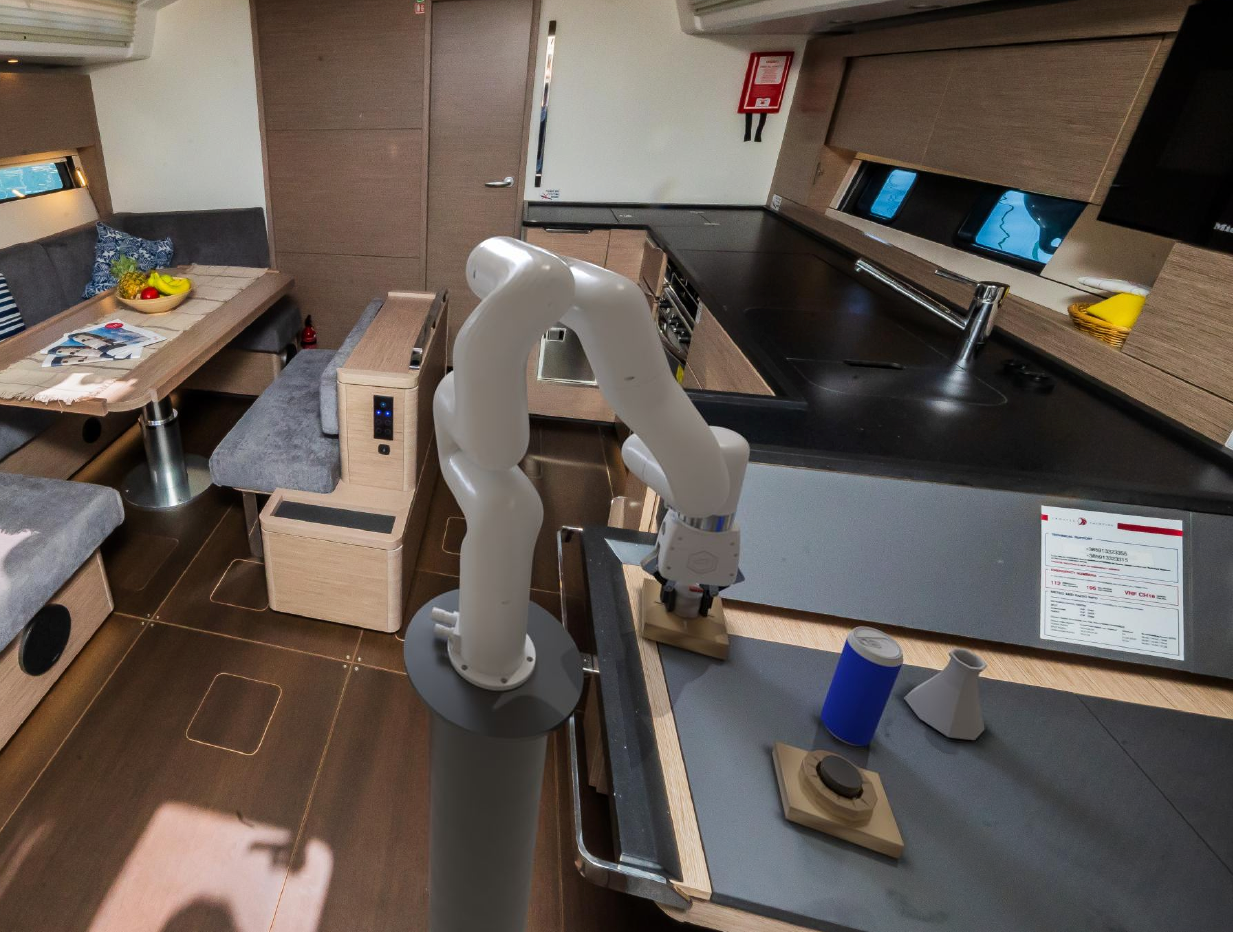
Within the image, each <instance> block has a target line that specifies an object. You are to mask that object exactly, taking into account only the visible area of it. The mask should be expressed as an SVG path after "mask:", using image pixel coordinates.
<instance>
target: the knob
mask: <svg viewBox="0 0 1233 932" xmlns="http://www.w3.org/2000/svg"><path fill="white" fill-rule="evenodd" d="M674 589H675V592H676V597H675V602H674V607H673V612H674V613H675V614H677V615H678V616H680V617H683V618H687V619H693V618H696V617H697V616H698V614H699V610H700V605H701V601H702V596H703V589H702V588H700V586H699V584H698V583H689V582H681V581H677V582H676V584H675V586H674Z"/></svg>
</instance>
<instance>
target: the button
mask: <svg viewBox="0 0 1233 932" xmlns="http://www.w3.org/2000/svg"><path fill="white" fill-rule="evenodd" d="M843 758H844V757H843ZM843 758H841V757H838V756H834V755H828V756H825V757H824V758H823V760H822V762H821V765H820V768H819V776H820V779H821V780H822V782H823V783H824V784H825V786H826V787H827V788H829V789H830V790H831V791H833V792H834V793H836V794H837V795H839V796H842V797H845V798H855V797H857V796H858V794H859V792H860V789H861V787H862V784H863V779H862V776H861V774H860V772H859V771H858V770H857V769H856V768H855V767H854V766H853V765H852V764H853V763H852V762H851V761H849V760H848V759H846V758H845V759H846V760H845V759H843ZM847 760H848V761H849V762H848V761H847ZM850 762H851V763H852V764H851V763H850Z"/></svg>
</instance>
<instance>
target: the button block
mask: <svg viewBox="0 0 1233 932" xmlns="http://www.w3.org/2000/svg"><path fill="white" fill-rule="evenodd" d="M771 754H772V759H773V763H774V769H775V774H776V778H777V783H778V787H779V792H780V797H781V803H782V807H783V811H784V816H785V819H786V820H788V821H791V822H793V823H796V824H799V825H802V826H805V827H808V828H811V829H814V830H817V831H819V832H822V833H824V834H827V835H830V836H833V837H835V838H839V839H841V840H844V841H847V842H850V843H852V844H856V845H858V846H860V847H864V848H866V849H869V850H873V851H874V852H878V853H881V854H883V855H886V856H889V857H891V858H895V859H897V860H898V859H899V858H900V856H901V855H902V853H903V850H904V849H905V844H904V841H903V838H902V835H901V833H900V830H899V827H898V825H897V822H896V819H895V816H894V814H893V811H892V807H891V805H890V802H889V800H888V797H887V794H886V791H885V789H884V786H883V784H882V780H881V778H880V775H879V773H878V772H875V771H871V770H868V769H865V768H862V767H859V766H857V765H855V764H854V763H853V762H851V761H849V760H848V759H846V758H845V757H844V756H843V755H840V754H838V753H834V752H831V751H829V750H828V751H827V750H824V749H818V750H812V751H808V750H805V749H803V748H802V749H801V748H798V747H795V746H792V745H789V744H786V743H782V742H779V741H775V742H774V746H773V749H772V753H771ZM828 755H834V756H838V757H841V758H843V759H845V760H847V761H848V762H850V763H851V764H852V765H853V766H854V767H855V768H856V769H857V770H858V771H859V772H860V774H861V776H862V779H863V784H862V787H861V789H860V792H859V794H858V796H857V797H855V798H845V797H842V796H839V795H837V794H836V793H834V792H833V791H831V790H830V789H829V788H827V787H826V786H825V784H824V783H823V782H822V780H821V779H820V776H819V768H820V765H821V762H822V760H823V758H824V757H825V756H828Z"/></svg>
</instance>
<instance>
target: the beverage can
mask: <svg viewBox="0 0 1233 932" xmlns="http://www.w3.org/2000/svg"><path fill="white" fill-rule="evenodd" d="M903 663H904V653H903V649H902V646H901V645H900V644H899V642H898V641H896V639H894V638H893V637H891V636H890V635H889V634H887V633H885V632H883V631H881V630H879V629H877V628H874V627H870V626H857V627H854V628H853V629H852V630H851V631H850V632H849V633H848V634H847V636H846V639H845V642H844V645H843V647H842V650H841V653H840V657H839V659H838V663H837V665H836V668H835V671H834V673H833V677H832V679H831V683H830V685H829V688H828V691H827V694H826V696H825V700H824V702H823V705H822V708H821V711H820V719H821V721H822V723H823V725H824V727H825V728H826V729H827V731H828V732H829V733H830V734H831V735H832V736H833V737H834V738H836V739H838V740H839V741H841V742H842V743H845V744H847V745H850V746H855V747H862V746H868V745H869V744H870V743H872V740H873V738H874V736H875V734H876V731H877V728H878V725H879V724H880V721H881V718H882V716H883V714H884V711H885V708H886V706H887V703H888V701H889V698H890V696H891V694H892V691H893V689H894V686H895V683H896V680H897V678H898V675H899V673H900V671H901V668H902V665H903Z"/></svg>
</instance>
